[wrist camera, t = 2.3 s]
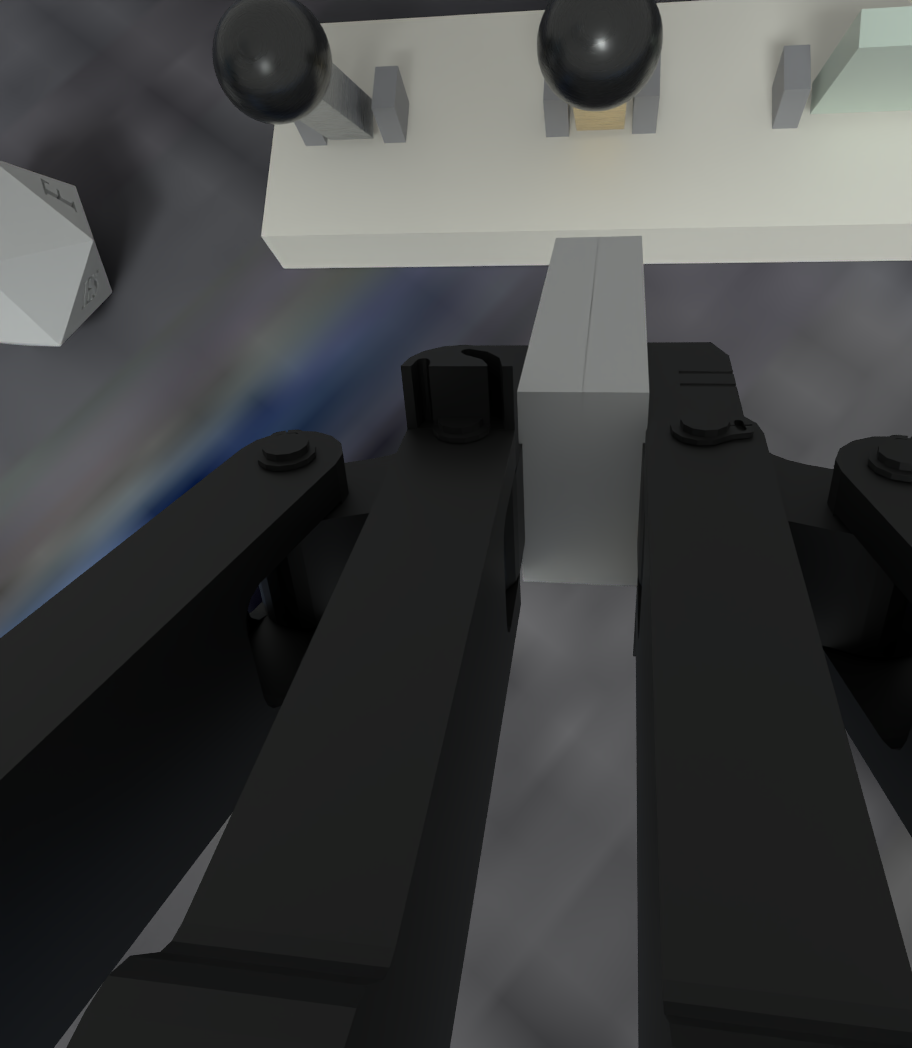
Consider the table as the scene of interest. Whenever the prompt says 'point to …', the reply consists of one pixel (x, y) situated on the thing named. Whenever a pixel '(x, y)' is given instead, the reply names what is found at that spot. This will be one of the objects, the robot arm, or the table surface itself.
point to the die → (45, 260)
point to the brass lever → (599, 55)
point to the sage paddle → (868, 66)
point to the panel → (595, 149)
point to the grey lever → (287, 70)
